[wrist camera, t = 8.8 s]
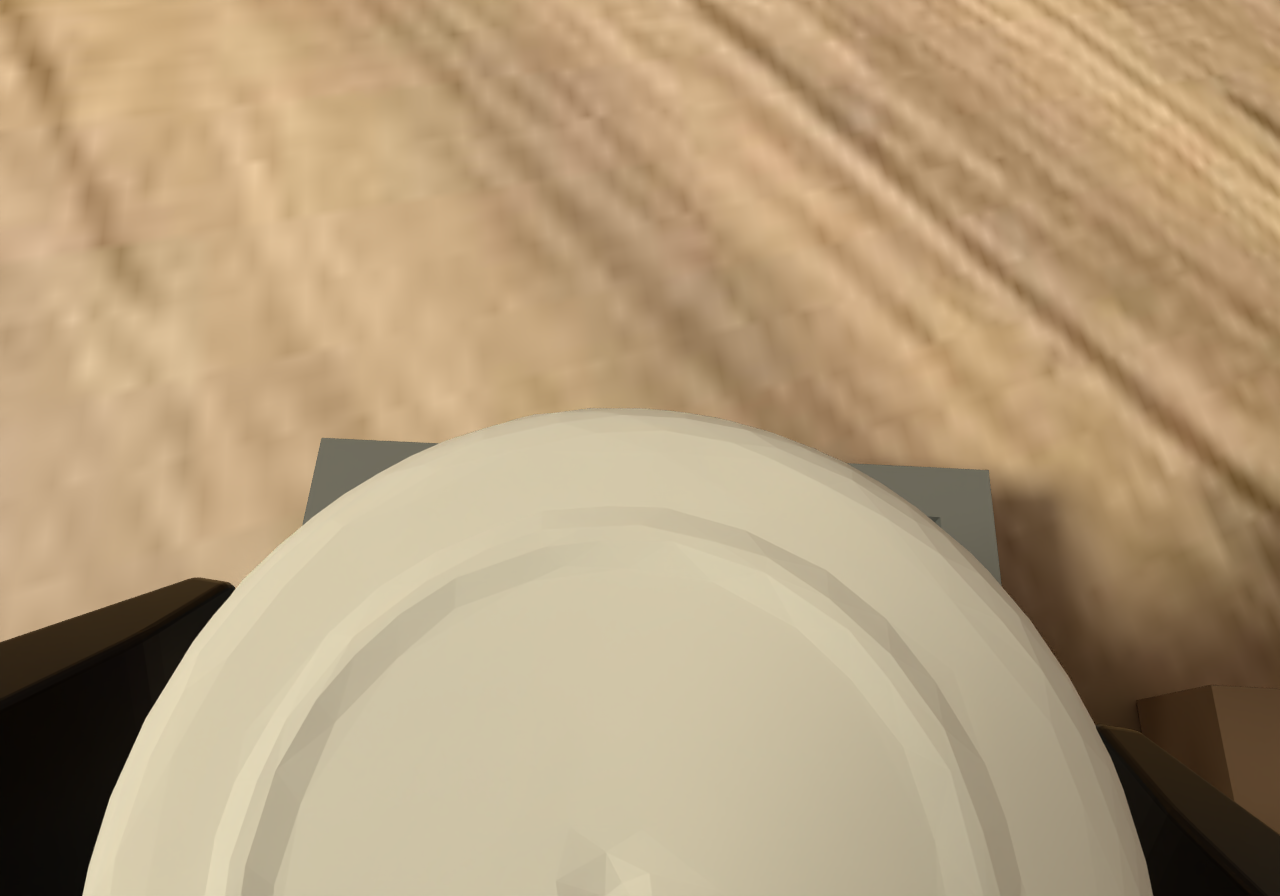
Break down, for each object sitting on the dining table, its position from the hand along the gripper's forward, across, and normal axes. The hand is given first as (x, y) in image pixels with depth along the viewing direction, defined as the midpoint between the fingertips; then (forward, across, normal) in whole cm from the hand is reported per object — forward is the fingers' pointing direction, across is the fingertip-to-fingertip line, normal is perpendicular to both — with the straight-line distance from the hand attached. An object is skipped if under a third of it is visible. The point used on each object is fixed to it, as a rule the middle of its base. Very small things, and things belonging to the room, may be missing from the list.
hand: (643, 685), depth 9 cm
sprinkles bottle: (+5, 0, +7) cm, 8 cm away
